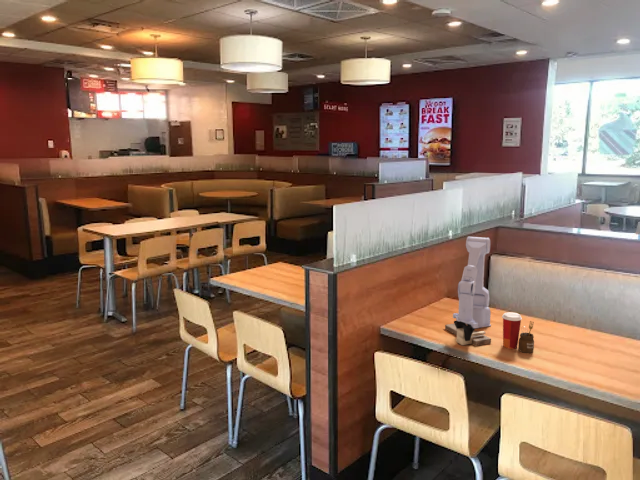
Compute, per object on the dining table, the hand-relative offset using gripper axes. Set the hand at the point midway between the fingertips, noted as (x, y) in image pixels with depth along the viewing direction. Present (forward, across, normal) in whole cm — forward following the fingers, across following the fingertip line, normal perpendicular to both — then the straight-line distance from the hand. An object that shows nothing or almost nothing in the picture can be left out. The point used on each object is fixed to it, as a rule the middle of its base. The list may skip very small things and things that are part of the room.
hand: (464, 338), depth 219 cm
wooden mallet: (+2, 0, +4) cm, 4 cm away
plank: (+2, -7, +7) cm, 10 cm away
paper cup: (+2, +10, +16) cm, 19 cm away
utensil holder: (+2, +16, +19) cm, 25 cm away
